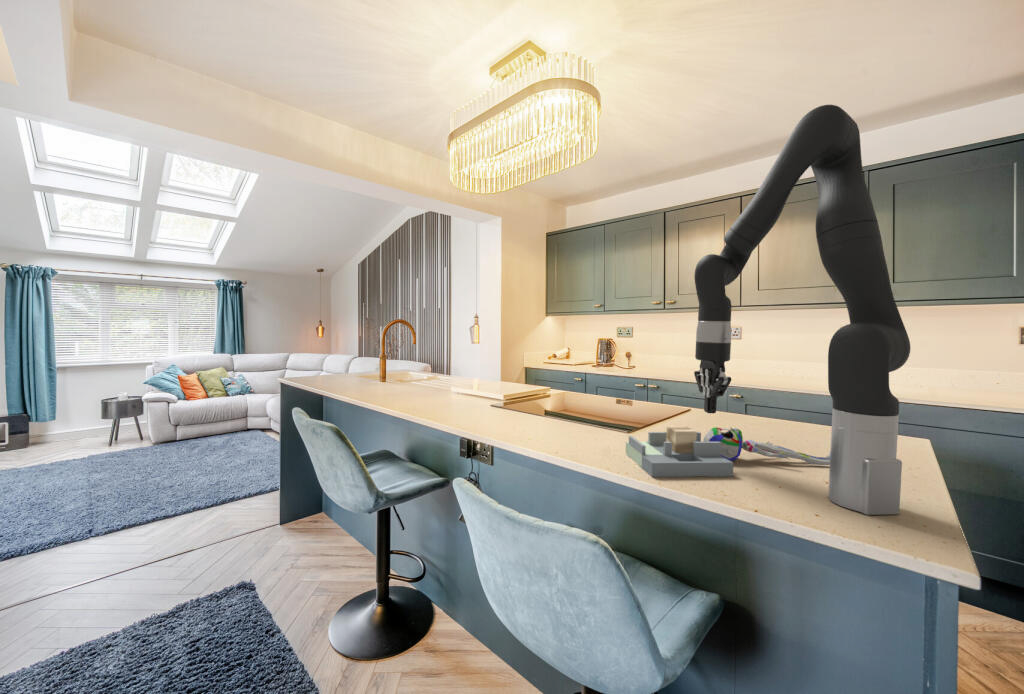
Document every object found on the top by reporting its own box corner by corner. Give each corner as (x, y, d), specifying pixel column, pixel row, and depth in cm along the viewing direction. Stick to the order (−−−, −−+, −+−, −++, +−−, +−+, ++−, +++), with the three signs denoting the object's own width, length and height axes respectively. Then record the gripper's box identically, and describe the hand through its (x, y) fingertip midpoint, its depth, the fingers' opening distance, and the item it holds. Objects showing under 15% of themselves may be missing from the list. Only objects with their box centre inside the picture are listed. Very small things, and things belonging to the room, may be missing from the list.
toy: (854, 453, 94) (715, 427, 98) (846, 489, 95) (708, 462, 99) (827, 441, 104) (702, 418, 108) (820, 474, 105) (696, 450, 109)
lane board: (732, 476, 91) (733, 448, 91) (651, 476, 90) (652, 449, 90) (694, 453, 108) (695, 429, 108) (625, 453, 107) (626, 430, 107)
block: (696, 452, 98) (696, 431, 98) (675, 452, 98) (675, 431, 98) (685, 446, 103) (686, 426, 103) (666, 446, 103) (666, 426, 103)
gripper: (745, 342, 93) (741, 419, 94) (713, 339, 107) (710, 407, 108) (712, 341, 93) (709, 418, 94) (684, 339, 106) (682, 407, 107)
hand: (709, 412), depth 101 cm, fingers closed
